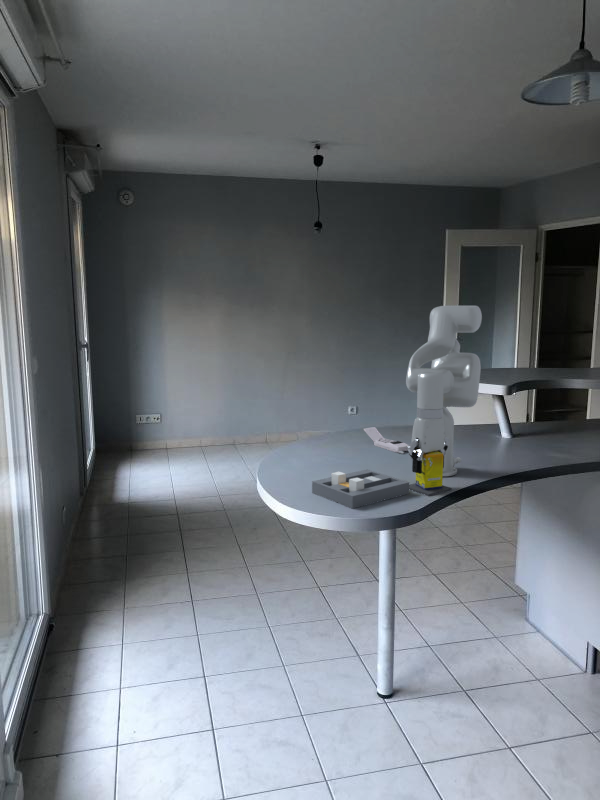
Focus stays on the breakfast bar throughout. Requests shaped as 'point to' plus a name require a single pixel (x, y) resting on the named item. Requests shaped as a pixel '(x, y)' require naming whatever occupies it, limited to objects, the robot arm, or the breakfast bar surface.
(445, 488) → the mat
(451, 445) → the robot arm
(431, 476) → the supplement box
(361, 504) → the grey compartment tray
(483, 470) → the breakfast bar surface
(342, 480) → the switch
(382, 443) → the mobile phone
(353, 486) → the switch
